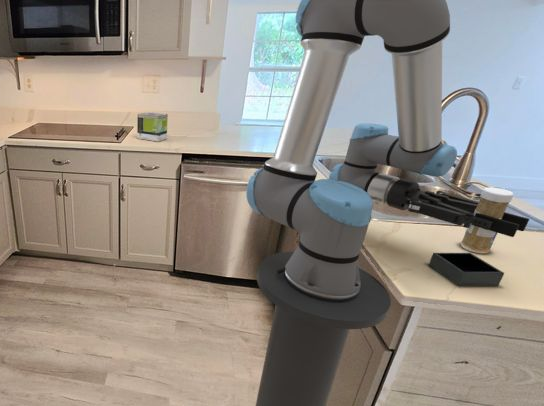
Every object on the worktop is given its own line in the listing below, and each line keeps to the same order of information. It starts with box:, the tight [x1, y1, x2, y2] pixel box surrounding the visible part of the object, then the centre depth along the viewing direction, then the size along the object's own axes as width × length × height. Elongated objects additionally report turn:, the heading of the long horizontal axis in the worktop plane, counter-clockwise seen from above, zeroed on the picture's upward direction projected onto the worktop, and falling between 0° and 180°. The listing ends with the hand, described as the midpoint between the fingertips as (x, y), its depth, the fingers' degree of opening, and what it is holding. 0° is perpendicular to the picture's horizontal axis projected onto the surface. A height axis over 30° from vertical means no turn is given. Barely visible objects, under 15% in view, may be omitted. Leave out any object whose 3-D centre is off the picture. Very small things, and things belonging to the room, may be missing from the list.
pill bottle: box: [460, 229, 498, 254], centre depth 93 cm, size 5×5×10 cm
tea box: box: [136, 111, 169, 142], centre depth 213 cm, size 15×10×15 cm
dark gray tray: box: [428, 252, 505, 287], centre depth 84 cm, size 8×8×4 cm
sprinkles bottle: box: [461, 186, 514, 250], centre depth 79 cm, size 5×5×14 cm
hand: (520, 227), depth 74 cm, fingers closed on sprinkles bottle, 4 cm apart
